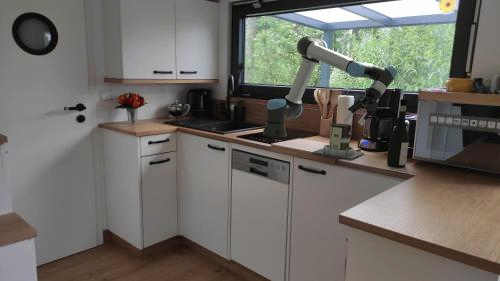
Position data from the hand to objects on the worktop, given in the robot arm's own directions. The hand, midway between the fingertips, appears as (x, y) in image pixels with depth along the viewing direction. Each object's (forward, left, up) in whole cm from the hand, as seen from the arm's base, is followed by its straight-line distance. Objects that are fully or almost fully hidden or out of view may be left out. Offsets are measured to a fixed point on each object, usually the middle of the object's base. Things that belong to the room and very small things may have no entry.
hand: (351, 123), depth 189 cm
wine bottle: (+16, +27, -16) cm, 35 cm away
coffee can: (+10, -2, -15) cm, 18 cm away
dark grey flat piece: (+10, -2, -15) cm, 19 cm away
